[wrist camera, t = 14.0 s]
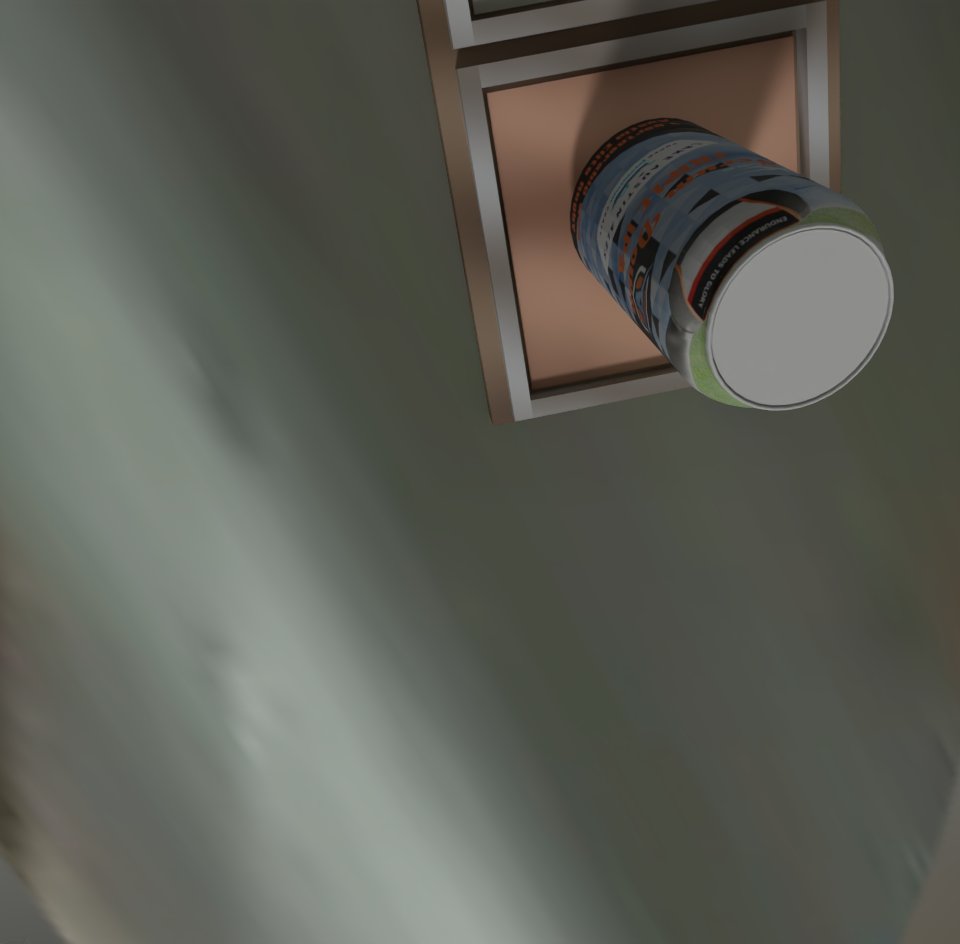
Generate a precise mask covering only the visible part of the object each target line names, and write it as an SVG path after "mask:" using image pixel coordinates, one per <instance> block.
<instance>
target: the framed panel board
mask: <svg viewBox="0 0 960 944" xmlns="http://www.w3.org/2000/svg"><path fill="white" fill-rule="evenodd" d="M417 6H418V12H419V17H420V23H421V29H422V34H423V40H424V46H425V51H426V57H427V63H428V68H429V74H430V80H431V85H432V91H433V97H434V102H435V108H436V114H437V119H438V125H439V131H440V136H441V142H442V148H443V153H444V159H445V165H446V170H447V176H448V182H449V187H450V193H451V199H452V204H453V210H454V216H455V221H456V227H457V233H458V238H459V244H460V250H461V255H462V261H463V267H464V272H465V278H466V284H467V289H468V295H469V301H470V306H471V312H472V318H473V323H474V329H475V335H476V340H477V346H478V352H479V357H480V363H481V369H482V374H483V380H484V386H485V391H486V397H487V403H488V408H489V414H490V418H491V421H492V423H493V426H494V425H500V424H505V423H510V422H515V421H520V420H525V419H530V418H535V417H540V416H545V415H550V414H556V413H561V412H566V411H571V410H576V409H581V408H586V407H591V406H596V405H601V404H606V403H611V402H616V401H621V400H626V399H631V398H636V397H641V396H647V395H652V394H657V393H662V392H667V391H672V390H677V389H682V388H687V387H692V385H691V384H690V383H689V382H688V381H686V380H685V379H684V378H683V377H682V376H681V374H680V373H679V372H678V371H677V370H676V369H675V368H674V367H673V365H672V364H671V363H670V362H669V361H668V360H667V359H666V357H665V356H664V355H663V354H662V353H661V352H660V351H659V350H658V348H657V347H656V346H655V345H654V344H653V343H652V342H651V341H650V339H649V338H648V337H647V336H646V335H645V334H644V333H643V332H642V330H641V329H640V328H639V327H638V326H637V325H636V324H635V323H634V321H633V320H632V319H631V318H630V317H629V316H628V315H627V314H626V312H625V311H624V310H623V309H622V308H621V307H620V306H619V304H618V303H617V302H616V301H615V300H614V299H613V298H612V297H611V295H610V294H609V293H608V292H607V291H606V290H605V289H604V288H603V286H602V285H601V284H600V283H599V282H598V281H597V280H596V279H595V277H594V276H593V275H592V274H591V273H590V272H589V271H588V270H587V268H586V267H585V265H584V264H583V262H582V261H581V259H580V258H579V256H578V253H577V251H576V249H575V247H574V244H573V239H572V235H571V231H570V209H571V200H572V197H573V193H574V190H575V186H576V183H577V181H578V179H579V177H580V175H581V173H582V170H583V169H584V167H585V166H586V164H587V163H588V161H589V160H590V158H591V157H592V155H593V154H594V153H595V152H596V151H597V150H598V149H599V148H600V147H601V146H602V144H603V143H605V142H606V141H607V140H608V139H610V138H611V137H612V136H613V135H615V134H616V133H618V132H619V131H621V130H623V129H625V128H627V127H628V126H630V125H633V124H636V123H639V122H642V121H644V120H649V119H656V118H678V119H682V120H686V121H690V122H692V123H695V124H697V125H699V126H701V127H703V128H705V129H707V130H709V131H711V132H713V133H715V134H717V135H719V136H721V137H723V138H726V139H728V140H730V141H732V142H734V143H736V144H738V145H740V146H742V147H744V148H746V149H748V150H750V151H752V152H755V153H757V154H759V155H761V156H763V157H765V158H767V159H769V160H771V161H773V162H775V163H777V164H779V165H781V166H783V167H786V168H788V169H790V170H792V171H794V172H796V173H798V174H800V175H802V176H804V177H806V178H808V179H810V180H812V181H815V182H817V183H819V184H821V185H823V186H825V187H827V188H829V189H831V190H833V191H835V192H837V193H839V194H841V149H840V61H839V0H417Z"/></svg>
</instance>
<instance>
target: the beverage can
mask: <svg viewBox="0 0 960 944" xmlns="http://www.w3.org/2000/svg"><path fill="white" fill-rule="evenodd" d="M570 231H571V235H572V239H573V244H574V247H575V249H576V251H577V253H578V256H579V258H580V259H581V261H582V262H583V264H584V265H585V267H586V268H587V270H588V271H589V272H590V273H591V274H592V275H593V276H594V277H595V279H596V280H597V281H598V282H599V283H600V284H601V285H602V286H603V288H604V289H605V290H606V291H607V292H608V293H609V294H610V295H611V297H612V298H613V299H614V300H615V301H616V302H617V303H618V304H619V306H620V307H621V308H622V309H623V310H624V311H625V312H626V314H627V315H628V316H629V317H630V318H631V319H632V320H633V321H634V323H635V324H636V325H637V326H638V327H639V328H640V329H641V330H642V332H643V333H644V334H645V335H646V336H647V337H648V338H649V339H650V341H651V342H652V343H653V344H654V345H655V346H656V347H657V348H658V350H659V351H660V352H661V353H662V354H663V355H664V356H665V357H666V359H667V360H668V361H669V362H670V363H671V364H672V365H673V367H674V368H675V369H676V370H677V371H678V372H679V373H680V374H681V376H682V377H683V378H684V379H685V380H686V381H688V382H689V383H690V384H691V385H692V386H693V387H694V388H695V389H696V390H698V391H699V392H701V393H703V394H704V395H706V396H708V397H709V398H711V399H714V400H717V401H719V402H722V403H725V404H728V405H734V406H740V407H747V408H748V407H755V408H759V409H765V410H789V409H795V408H800V407H804V406H806V405H809V404H812V403H815V402H818V401H820V400H822V399H824V398H825V397H827V396H829V395H831V394H833V393H834V392H836V391H837V390H839V389H840V388H842V387H843V386H844V385H846V384H847V383H848V382H849V381H850V380H851V379H853V378H854V377H855V376H856V375H857V374H858V373H859V372H860V371H861V370H862V368H863V367H864V366H865V365H866V364H867V363H868V361H869V360H870V359H871V357H872V356H873V354H874V353H875V351H876V350H877V348H878V347H879V345H880V343H881V341H882V339H883V337H884V335H885V332H886V330H887V327H888V324H889V321H890V318H891V314H892V307H893V300H894V291H893V279H892V275H891V271H890V267H889V265H888V263H887V261H886V259H885V255H884V251H883V246H882V242H881V240H880V238H879V236H878V234H877V231H876V229H875V227H874V225H873V224H872V222H871V221H870V220H869V218H868V217H867V216H866V214H865V213H864V212H863V211H862V209H861V208H859V207H858V206H857V205H856V204H854V203H853V202H852V201H851V200H849V199H848V198H847V197H845V196H843V195H841V194H839V193H837V192H835V191H833V190H831V189H829V188H827V187H825V186H823V185H821V184H819V183H817V182H815V181H812V180H810V179H808V178H806V177H804V176H802V175H800V174H798V173H796V172H794V171H792V170H790V169H788V168H786V167H783V166H781V165H779V164H777V163H775V162H773V161H771V160H769V159H767V158H765V157H763V156H761V155H759V154H757V153H755V152H752V151H750V150H748V149H746V148H744V147H742V146H740V145H738V144H736V143H734V142H732V141H730V140H728V139H726V138H723V137H721V136H719V135H717V134H715V133H713V132H711V131H709V130H707V129H705V128H703V127H701V126H699V125H697V124H695V123H692V122H690V121H686V120H682V119H678V118H656V119H649V120H644V121H642V122H639V123H636V124H633V125H630V126H628V127H627V128H625V129H623V130H621V131H619V132H618V133H616V134H615V135H613V136H612V137H611V138H610V139H608V140H607V141H606V142H605V143H603V144H602V146H601V147H600V148H599V149H598V150H597V151H596V152H595V153H594V154H593V155H592V157H591V158H590V160H589V161H588V163H587V164H586V166H585V167H584V169H583V170H582V173H581V175H580V177H579V179H578V181H577V183H576V186H575V190H574V193H573V197H572V200H571V209H570Z"/></svg>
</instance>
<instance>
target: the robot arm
mask: <svg viewBox="0 0 960 944" xmlns="http://www.w3.org/2000/svg"><path fill="white" fill-rule="evenodd" d="M2 944H31V943H30V941H29V940H28V938H23V939H19V940H14V941H10V942H6V943H2Z"/></svg>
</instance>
